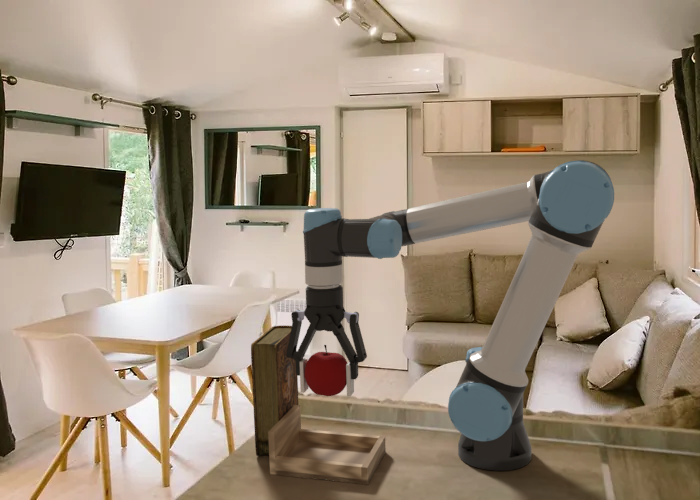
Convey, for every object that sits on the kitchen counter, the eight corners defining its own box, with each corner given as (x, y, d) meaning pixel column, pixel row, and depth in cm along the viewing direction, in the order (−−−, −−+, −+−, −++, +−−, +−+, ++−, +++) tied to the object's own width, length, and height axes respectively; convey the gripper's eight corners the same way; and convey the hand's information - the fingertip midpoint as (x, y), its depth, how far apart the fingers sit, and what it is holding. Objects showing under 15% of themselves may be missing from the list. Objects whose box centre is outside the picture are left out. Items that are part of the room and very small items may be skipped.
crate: (385, 451, 150) (384, 411, 149) (367, 484, 136) (366, 440, 134) (296, 443, 156) (295, 404, 155) (270, 474, 141) (268, 431, 140)
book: (278, 428, 165) (274, 325, 161) (301, 429, 164) (297, 325, 160) (255, 458, 149) (250, 344, 145) (280, 459, 148) (275, 345, 144)
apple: (297, 398, 141) (296, 350, 140) (315, 384, 150) (314, 338, 148) (340, 402, 138) (338, 353, 137) (356, 388, 146) (354, 341, 145)
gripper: (381, 283, 141) (383, 389, 144) (280, 280, 147) (284, 382, 150) (372, 290, 134) (374, 402, 137) (266, 287, 140) (270, 394, 143)
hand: (327, 392), depth 144 cm, fingers closed on apple, 9 cm apart
